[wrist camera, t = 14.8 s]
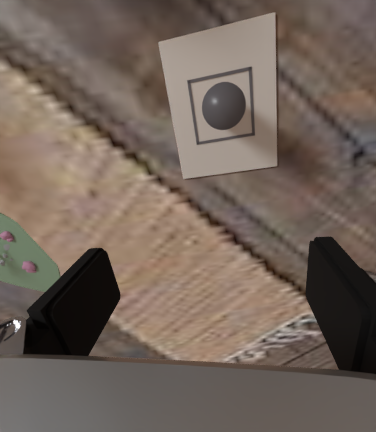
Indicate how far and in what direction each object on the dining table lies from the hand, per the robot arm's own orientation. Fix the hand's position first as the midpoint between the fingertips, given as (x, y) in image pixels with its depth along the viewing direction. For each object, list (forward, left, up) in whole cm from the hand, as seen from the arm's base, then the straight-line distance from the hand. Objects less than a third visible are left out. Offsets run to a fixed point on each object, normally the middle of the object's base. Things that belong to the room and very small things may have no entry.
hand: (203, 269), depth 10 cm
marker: (-2, -7, -28) cm, 29 cm away
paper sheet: (-2, -7, -28) cm, 29 cm away
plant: (+47, +15, -29) cm, 58 cm away
